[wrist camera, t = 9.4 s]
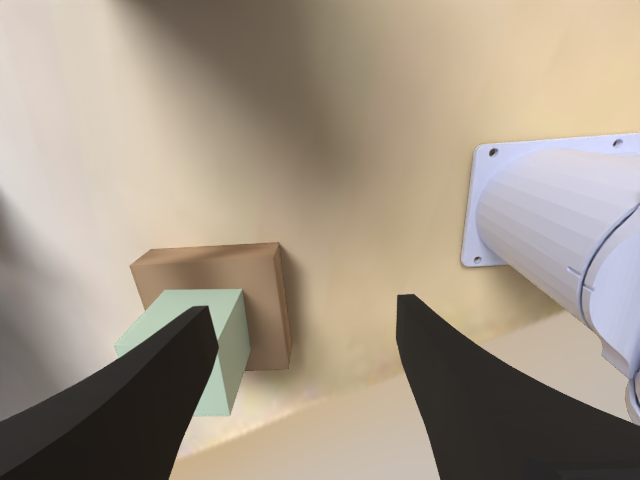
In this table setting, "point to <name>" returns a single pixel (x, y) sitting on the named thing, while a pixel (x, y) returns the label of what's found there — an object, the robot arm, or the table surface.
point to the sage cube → (228, 331)
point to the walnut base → (228, 273)
